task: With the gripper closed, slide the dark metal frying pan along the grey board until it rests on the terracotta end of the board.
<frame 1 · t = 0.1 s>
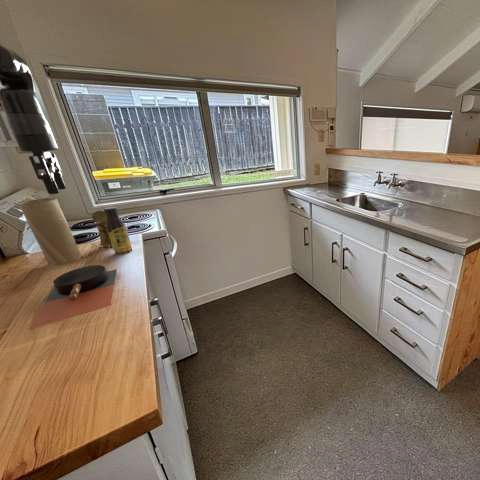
hand: (58, 191, 76), 31 cm above the countertop, tool pointing down, fingers open, 8 cm apart
board: (81, 295, 80), on the countertop
pan: (84, 283, 85), point 1 cm above the countertop, touching board
sauce bottle: (125, 253, 110), on the countertop
tube: (66, 261, 104), on the countertop
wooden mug: (113, 246, 118), on the countertop
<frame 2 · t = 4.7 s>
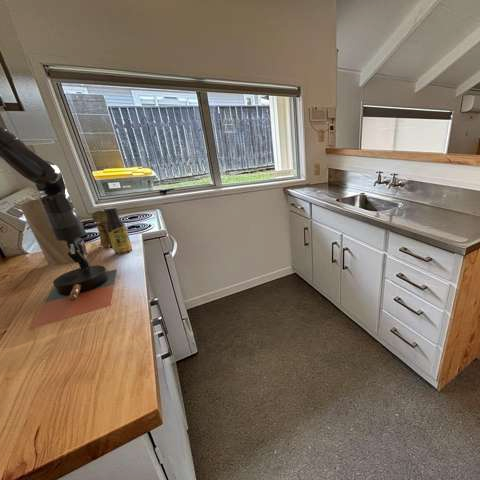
hand: (86, 269, 91), 3 cm above the countertop, tool pointing down, fingers closed
pan: (84, 284, 85), point 1 cm above the countertop, touching board, gripper
everything else where it was.
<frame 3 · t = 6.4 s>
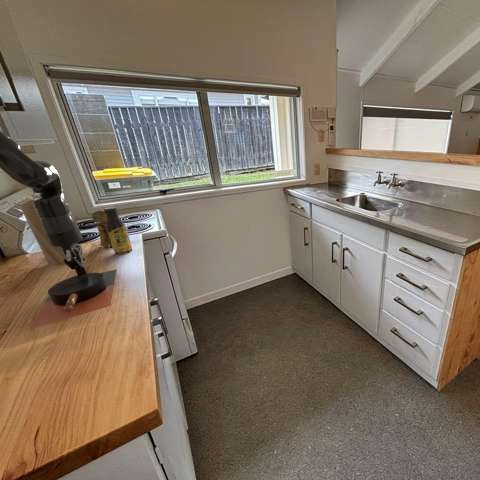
hand: (83, 276, 86), 3 cm above the countertop, tool pointing down, fingers closed
pan: (81, 292, 80), point 1 cm above the countertop, touching board, gripper
everything else where it was.
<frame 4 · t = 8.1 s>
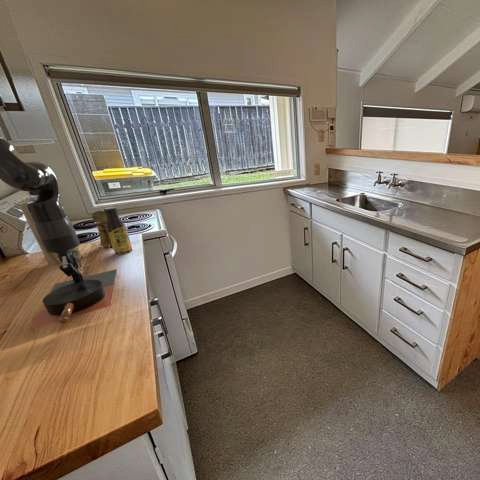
hand: (81, 283, 82), 3 cm above the countertop, tool pointing down, fingers closed
pan: (78, 301, 76), point 1 cm above the countertop, touching board, gripper
everything else where it was.
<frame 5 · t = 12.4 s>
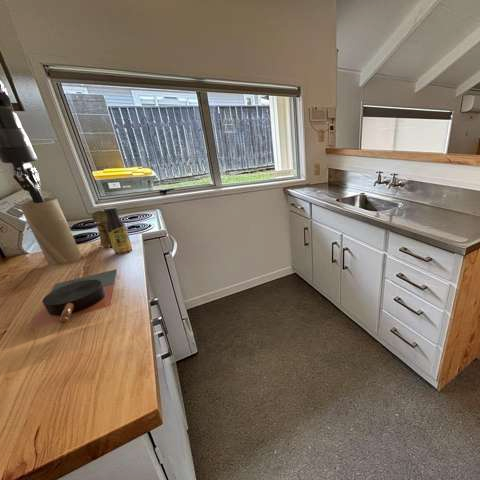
hand: (39, 202, 83), 27 cm above the countertop, tool pointing down, fingers closed
pan: (78, 301, 76), point 1 cm above the countertop, touching board
everything else where it was.
at the end: pan inside the target area (2.4 cm from its centre), point 0.8 cm above the countertop; pan tilted 0°; pan moved 12.1 cm from its start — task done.
